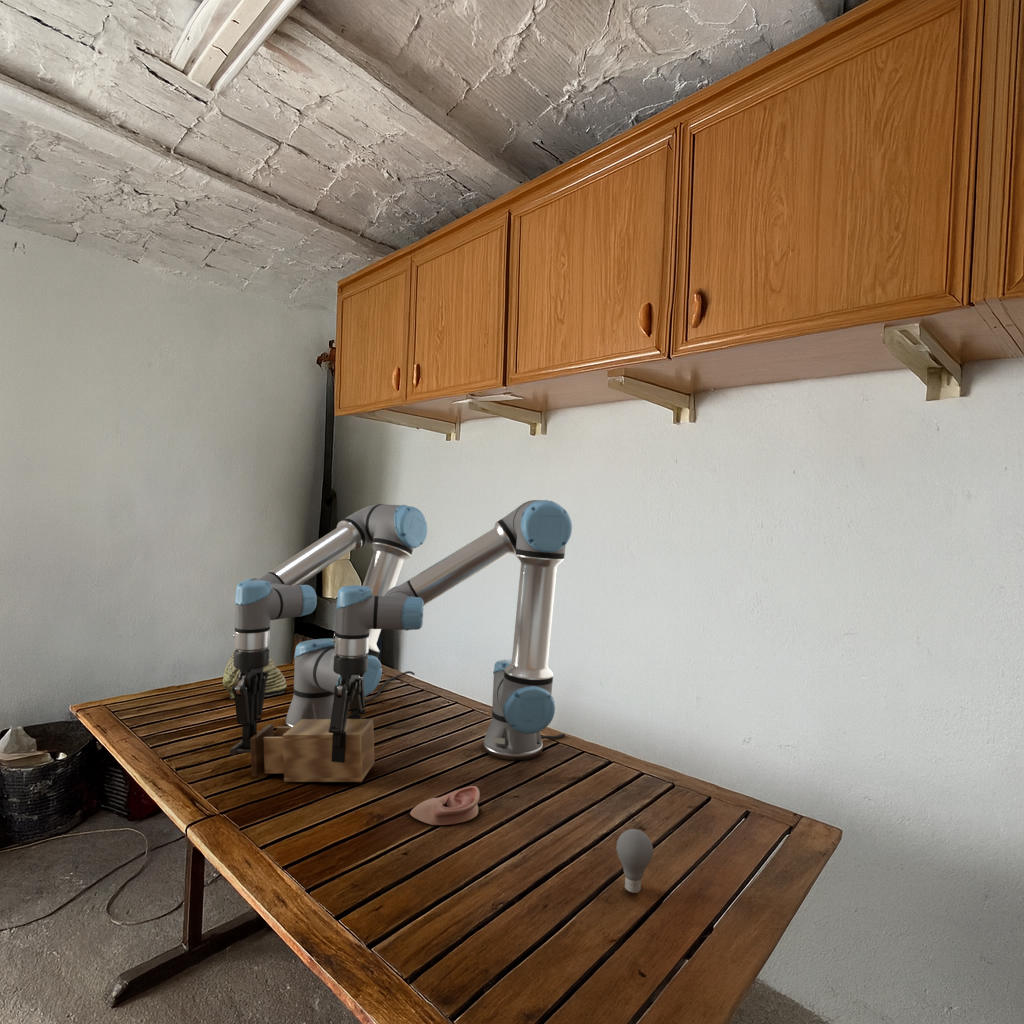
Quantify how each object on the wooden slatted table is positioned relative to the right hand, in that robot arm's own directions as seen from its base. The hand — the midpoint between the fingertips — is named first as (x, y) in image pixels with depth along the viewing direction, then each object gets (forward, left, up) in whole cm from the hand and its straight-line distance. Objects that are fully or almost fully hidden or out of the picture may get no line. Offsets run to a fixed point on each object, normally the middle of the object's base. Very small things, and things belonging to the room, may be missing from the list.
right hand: (346, 751), depth 144 cm
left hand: (+20, -11, -1) cm, 23 cm away
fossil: (+15, -67, -6) cm, 69 cm away
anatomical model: (-16, +24, -6) cm, 29 cm away
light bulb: (-36, +60, -6) cm, 70 cm away
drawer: (+13, -7, -5) cm, 15 cm away
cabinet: (+3, -2, -5) cm, 6 cm away
